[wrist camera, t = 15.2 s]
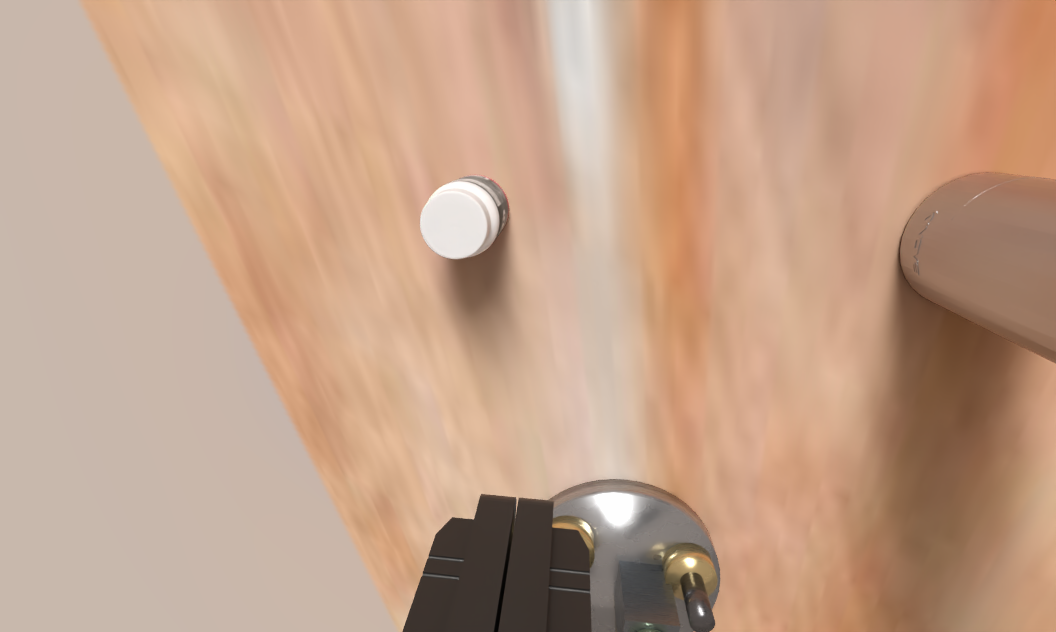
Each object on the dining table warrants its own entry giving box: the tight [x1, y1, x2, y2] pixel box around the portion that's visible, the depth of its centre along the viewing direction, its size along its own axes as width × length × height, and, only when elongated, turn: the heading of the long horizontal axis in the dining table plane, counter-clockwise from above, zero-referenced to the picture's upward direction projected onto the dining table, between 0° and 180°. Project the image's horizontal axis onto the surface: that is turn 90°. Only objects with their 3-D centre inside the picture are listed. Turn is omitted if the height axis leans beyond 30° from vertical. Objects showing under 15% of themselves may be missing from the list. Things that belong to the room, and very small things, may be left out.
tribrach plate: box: [548, 479, 720, 632], centre depth 45 cm, size 17×17×9 cm
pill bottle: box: [420, 175, 509, 259], centre depth 37 cm, size 5×5×8 cm
